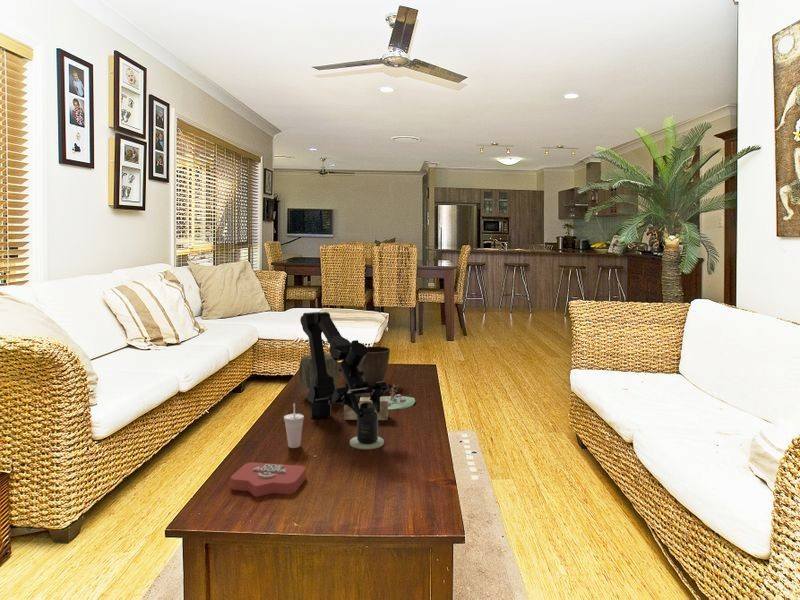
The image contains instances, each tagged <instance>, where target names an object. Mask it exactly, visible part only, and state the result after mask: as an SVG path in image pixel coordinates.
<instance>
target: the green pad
mask: <svg viewBox="0 0 800 600" xmlns="http://www.w3.org/2000/svg"><path fill="white" fill-rule="evenodd" d="M384 444H385V441H384V438H382V437H380V436H378V440H377V441H376V442H375V443H372V444H362V443H360V442H359V441H358V440H357V436H353V437H352V438H350V439H349V446H351V447H352V448H353V449H358V450H374V449H375V450H376V449H379V448H381V447H383V446H384Z"/></svg>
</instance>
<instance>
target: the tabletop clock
mask: <svg viewBox="0 0 800 600" xmlns="http://www.w3.org/2000/svg"><path fill="white" fill-rule="evenodd" d="M322 342H323V348H324V347H325V345H326V342H325V340H324V339H323V338H322ZM324 356H325V362H326V369H327V373H328V374H329V375H330V376H332V377H333V380H334V386H335V387H337V385H338V382H339V362H338V361H334V360H333V358H332V357H331V354H330V353H326V352H324ZM313 377H314V371H313V364H312V357H311V353H310V354H307V355H303V356H302V357H301V359H300V361H299V383H300V386H302V387H303V388H305V389H309V390H310V389H311V381H312V379H313Z"/></svg>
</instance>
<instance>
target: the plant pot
mask: <svg viewBox="0 0 800 600" xmlns="http://www.w3.org/2000/svg"><path fill="white" fill-rule="evenodd" d="M366 347H367V349H368V353H367V355H366V356H365V358H364V360H363V362H362V363H361V365H359V366H360V367H359V368H360V371H363V373H364V374H363V378H364V380H365V381H367V382H368V385H367V386H371V387H373V385H374V383H375V382H381V381H384V379H385V375H386V373H387V370H388V369H387V368H388V365H389V364H388V363H389V361H390V360H389V359H390V354H391V353H390V352H391V349H390V348H388V347H385V346H366Z"/></svg>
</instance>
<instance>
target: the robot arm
mask: <svg viewBox="0 0 800 600" xmlns="http://www.w3.org/2000/svg"><path fill="white" fill-rule="evenodd" d="M299 322H300V324H301V327H302V331H303V332H304V333H305V334H306V336H307V337H308V343H309V349H310V354H311V357H312V364H313V371H314V377H313V379H312V381H311V389H309V391H308V393H307V394H306V398H307V401H309V402H310V403H311V416H310V419H323V420H325V419H329V418H330V416H331V415H332V404H334V405H337V404H340V405H343V406H344V405H347V406H349V407H350V408H351V409H352V410H353V411H354V412H355V413H356V414H357V415H358V416H361V412H360V408H359V405H358V404H359V402H360V397H362V395H370V397H371V398H370V399H369V400H371V401H372V402H373V404H374V405H375V409H376V411H377V413H379V412H380V397H382V396H384V395H385V393H386V392H387V390H389V385H388V383H387V382H386V381H385V380H383V381H381V382H375V383H374V385H373V386H369V385H368V382H367V381H365V380H364V377H363V374H364V373H363V371H361V368H360V367H359V366H360V365H361V363H362V362H363V360H364V358H365V356H366V355H367V353H368V349H367V347H368V346H366V345H365V344H363V343H361V342H359V340H358V339H356V340H351V342H350V341H349V340H348V339H347V338H345V337H343V335H341V333H340V332H339V330H338V328H337V326H336V325H335V323H334V322H333V319H332V318H331V314H330V312H328V311H323V312H321V311H315V312H314V311H313V312H304V313H303V314H302V315H301V316H300V321H299ZM322 333H323V334H322ZM322 335H324V337H325V339H326V340H327V342H328V344H329V346H330V347H329V349H328V351H329V354H331V357H332V358H333V360H334V361H341V362H340V364H339V366H338V373H339V372H340V373H342V375H343V377H344V379H345V381H344V386H340V387H339V386H338V387H336V386H334V380H333V377H332V376H330V375H329V374H328V373H327V369H326V362H325V356H324V353H325V350H324V347H323V345H324V342H323V341H322V339H323V338H322V337H323V336H322ZM368 386H369V387H368ZM331 402H332V403H331Z"/></svg>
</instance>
